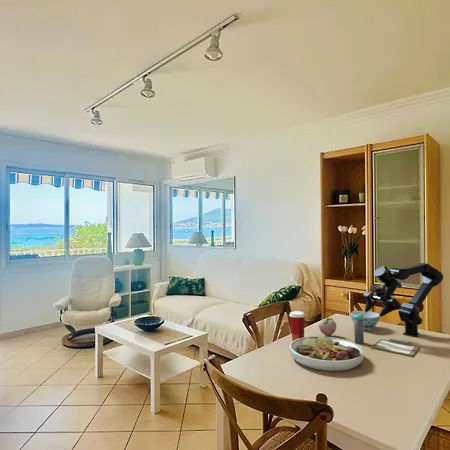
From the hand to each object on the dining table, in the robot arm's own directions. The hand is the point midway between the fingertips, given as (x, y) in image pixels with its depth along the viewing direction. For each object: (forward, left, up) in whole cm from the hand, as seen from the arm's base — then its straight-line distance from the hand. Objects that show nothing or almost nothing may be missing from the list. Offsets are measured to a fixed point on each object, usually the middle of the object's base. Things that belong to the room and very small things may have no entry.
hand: (372, 314), depth 160 cm
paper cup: (+23, -28, -13) cm, 39 cm away
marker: (+7, -4, -13) cm, 15 cm away
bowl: (+35, -8, -14) cm, 38 cm away
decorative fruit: (+7, -20, -13) cm, 25 cm away
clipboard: (+4, +11, -13) cm, 17 cm away
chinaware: (-19, -10, -13) cm, 26 cm away
